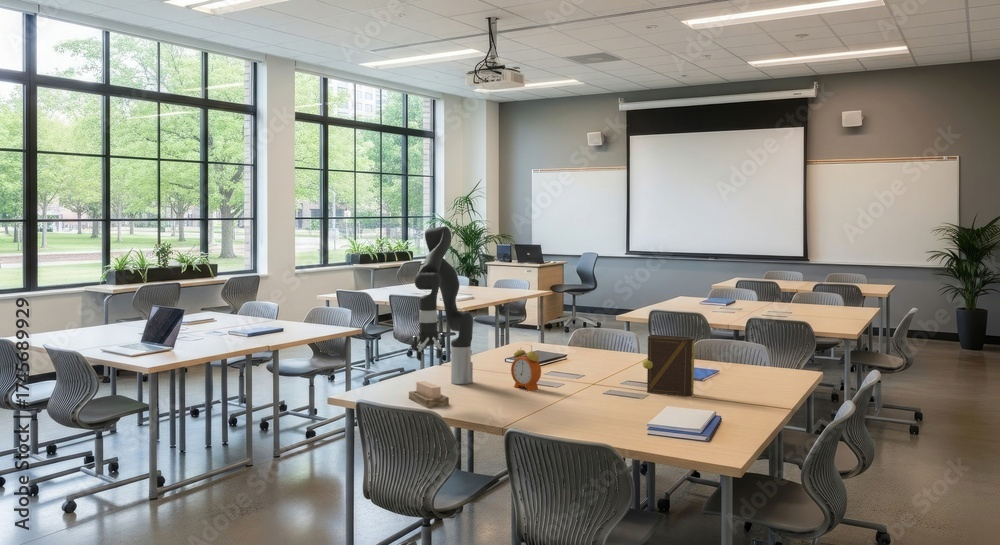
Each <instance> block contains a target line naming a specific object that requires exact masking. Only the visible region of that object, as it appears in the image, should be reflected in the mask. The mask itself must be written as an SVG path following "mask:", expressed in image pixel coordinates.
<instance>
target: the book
mask: <svg viewBox="0 0 1000 545" xmlns="http://www.w3.org/2000/svg"><path fill="white" fill-rule="evenodd" d="M642 366H643V368H644V369H647V373H646V374H647V375H646V376H647V378H646V380H647V381H646V384H647V386H646V389H647V391H646V393H648V394H657V395H665V394H666V395H667V396H676V395H678V396H679V397H686V396H691V397H693V396H694V393H695V392H694V389H695V388H694V381H695V375H694V374H695V337H693V336H683V335H682V336H679V335H667V334H666V335H664V334H650V335H648V336H647V358H645V359H643V360H642ZM692 395H693V396H692ZM678 396H677V397H678Z"/></svg>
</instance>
